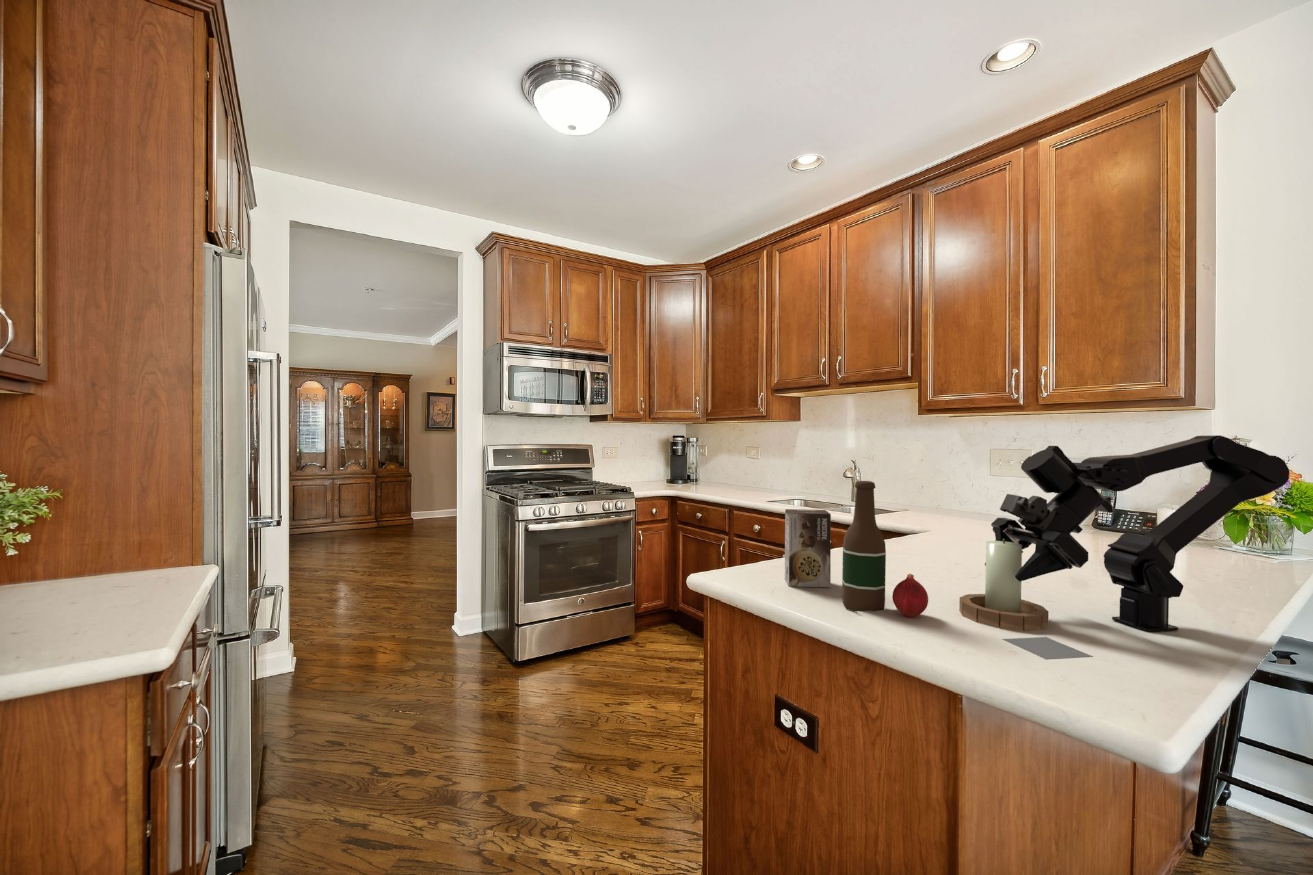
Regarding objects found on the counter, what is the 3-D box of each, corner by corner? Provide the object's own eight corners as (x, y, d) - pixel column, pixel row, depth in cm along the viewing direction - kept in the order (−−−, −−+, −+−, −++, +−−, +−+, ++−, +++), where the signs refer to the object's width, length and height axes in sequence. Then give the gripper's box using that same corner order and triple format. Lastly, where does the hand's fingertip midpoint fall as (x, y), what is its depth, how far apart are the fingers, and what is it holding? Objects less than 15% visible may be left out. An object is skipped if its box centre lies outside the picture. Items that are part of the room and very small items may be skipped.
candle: (1015, 614, 99) (1017, 537, 99) (1024, 623, 94) (1026, 542, 94) (981, 610, 101) (983, 535, 101) (988, 619, 96) (990, 540, 96)
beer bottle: (888, 606, 105) (890, 481, 105) (880, 617, 99) (883, 483, 99) (846, 599, 109) (848, 479, 110) (836, 609, 103) (838, 481, 103)
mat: (1045, 640, 88) (1045, 636, 88) (1093, 660, 80) (1093, 656, 80) (1002, 642, 87) (1002, 639, 87) (1045, 663, 79) (1045, 659, 79)
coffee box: (824, 580, 124) (825, 509, 124) (831, 588, 118) (832, 513, 118) (783, 579, 125) (784, 508, 125) (787, 586, 118) (789, 511, 119)
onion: (932, 625, 95) (932, 579, 95) (896, 622, 96) (897, 577, 96) (922, 615, 100) (923, 571, 100) (889, 612, 101) (889, 569, 101)
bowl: (1005, 608, 105) (1005, 593, 105) (1066, 632, 92) (1066, 614, 92) (944, 611, 103) (944, 595, 103) (998, 635, 90) (998, 617, 90)
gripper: (1001, 475, 107) (943, 531, 107) (1070, 483, 88) (999, 550, 89) (1043, 516, 107) (984, 572, 107) (1120, 533, 88) (1049, 600, 88)
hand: (1001, 572), depth 98 cm, fingers open, 9 cm apart
